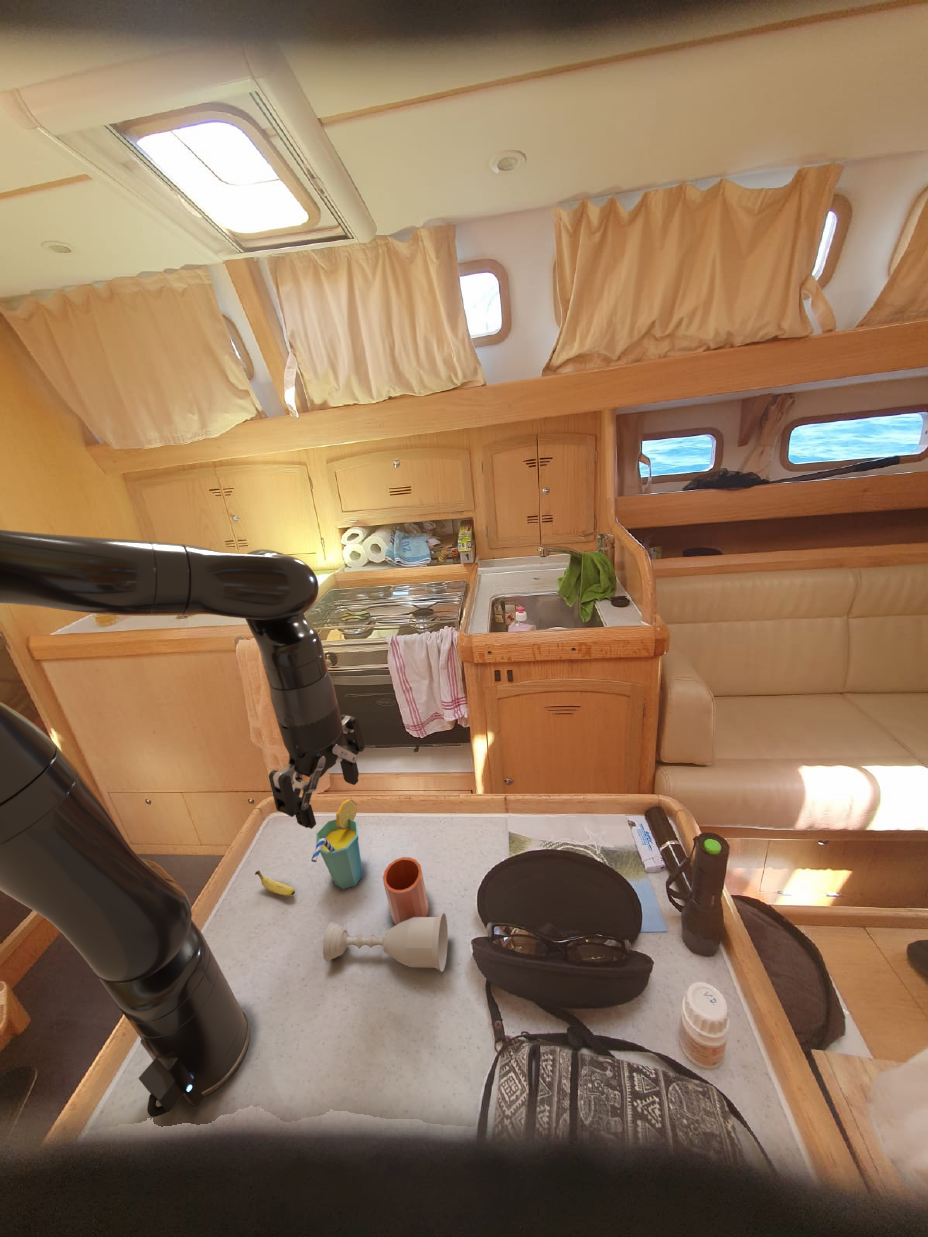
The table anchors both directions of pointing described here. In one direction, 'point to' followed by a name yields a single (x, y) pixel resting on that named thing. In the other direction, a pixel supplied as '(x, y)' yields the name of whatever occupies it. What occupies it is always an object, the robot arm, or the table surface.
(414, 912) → the tumbler
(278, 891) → the banana
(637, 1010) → the table surface
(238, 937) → the table surface
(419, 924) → the chalice
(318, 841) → the cup
